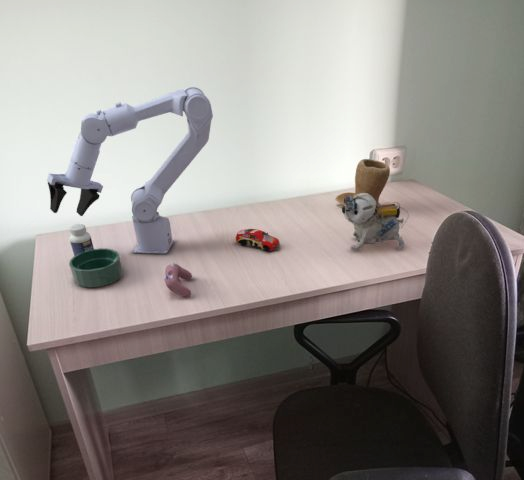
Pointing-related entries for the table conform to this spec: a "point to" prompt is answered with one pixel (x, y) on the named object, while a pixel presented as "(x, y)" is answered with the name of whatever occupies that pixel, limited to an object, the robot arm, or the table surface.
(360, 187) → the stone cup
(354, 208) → the robotic toy
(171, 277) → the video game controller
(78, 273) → the bowl
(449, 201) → the table surface
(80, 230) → the pill bottle
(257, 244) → the race car
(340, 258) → the table surface
